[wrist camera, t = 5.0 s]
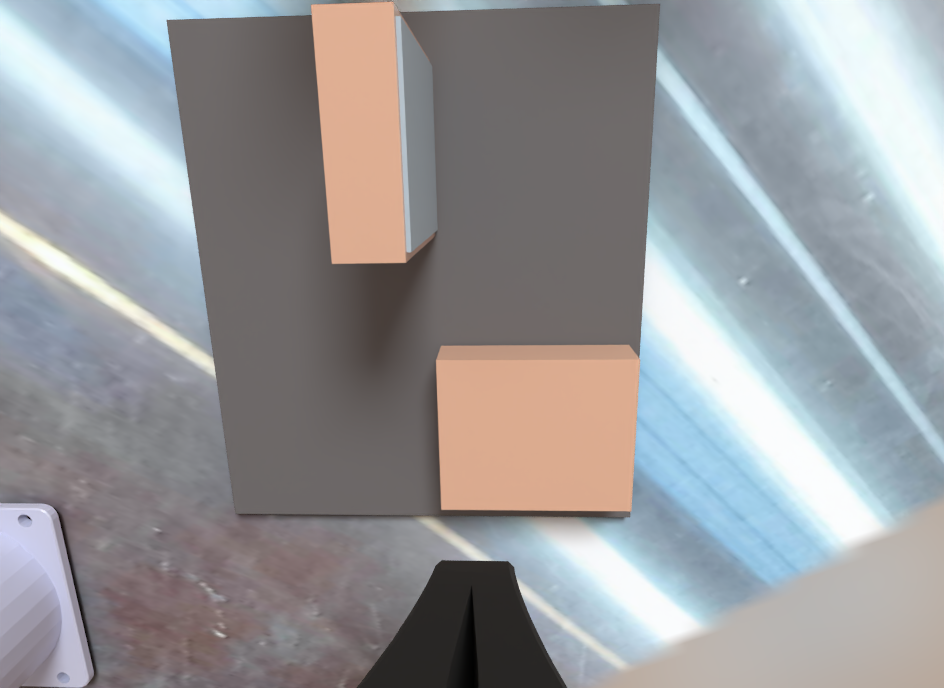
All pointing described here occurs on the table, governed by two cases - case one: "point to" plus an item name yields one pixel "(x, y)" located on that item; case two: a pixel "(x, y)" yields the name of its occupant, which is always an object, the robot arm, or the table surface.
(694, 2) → the table surface
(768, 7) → the table surface
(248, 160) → the mat
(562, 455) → the tile
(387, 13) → the tile
